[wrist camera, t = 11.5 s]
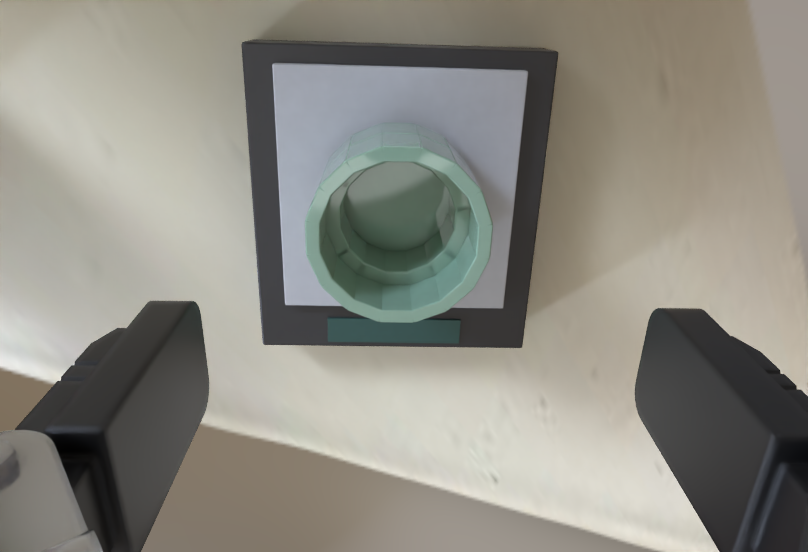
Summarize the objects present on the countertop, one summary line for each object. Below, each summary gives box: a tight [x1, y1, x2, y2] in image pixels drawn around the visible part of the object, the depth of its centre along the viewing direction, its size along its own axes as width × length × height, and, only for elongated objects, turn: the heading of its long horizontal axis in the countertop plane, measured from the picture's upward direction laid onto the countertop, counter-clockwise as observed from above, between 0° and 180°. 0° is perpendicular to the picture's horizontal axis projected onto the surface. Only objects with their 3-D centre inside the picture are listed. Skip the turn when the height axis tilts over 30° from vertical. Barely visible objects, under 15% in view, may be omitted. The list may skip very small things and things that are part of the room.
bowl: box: [305, 122, 493, 323], centre depth 22 cm, size 6×6×5 cm
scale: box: [242, 40, 558, 348], centre depth 26 cm, size 13×12×3 cm
